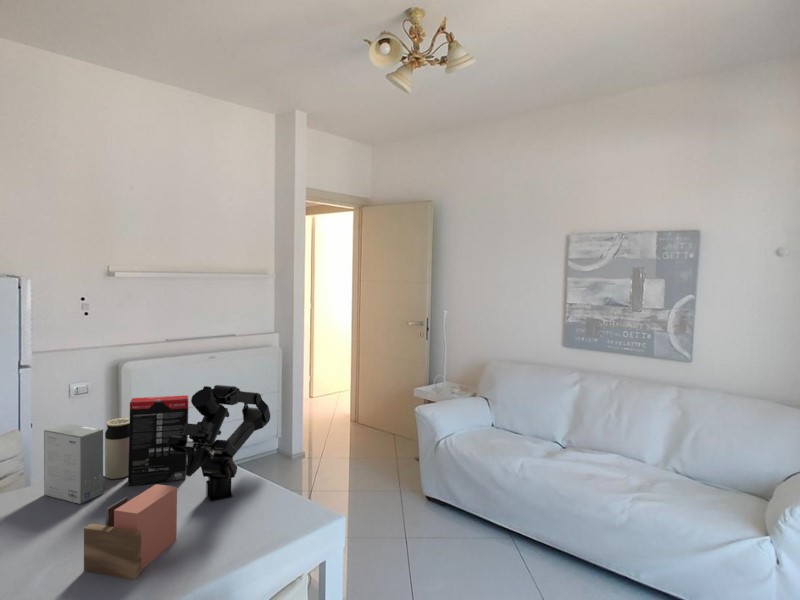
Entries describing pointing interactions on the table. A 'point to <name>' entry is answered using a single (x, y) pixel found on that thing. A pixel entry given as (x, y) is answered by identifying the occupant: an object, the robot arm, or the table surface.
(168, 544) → the book box
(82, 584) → the table surface
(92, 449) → the hard drive box
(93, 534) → the shelf wall
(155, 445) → the graphics card box
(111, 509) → the bookend
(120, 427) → the travel mug
